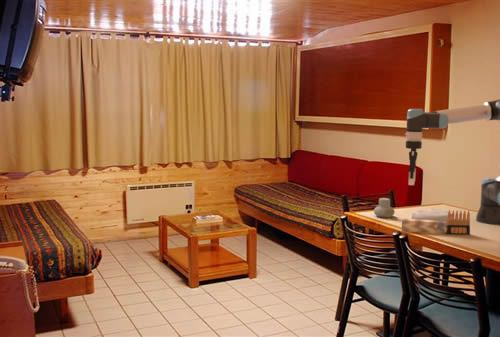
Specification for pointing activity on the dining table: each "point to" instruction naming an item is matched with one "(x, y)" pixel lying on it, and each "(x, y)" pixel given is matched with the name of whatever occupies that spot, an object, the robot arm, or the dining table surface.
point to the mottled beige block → (424, 226)
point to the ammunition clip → (458, 223)
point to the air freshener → (384, 208)
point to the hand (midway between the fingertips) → (411, 183)
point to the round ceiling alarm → (431, 215)
